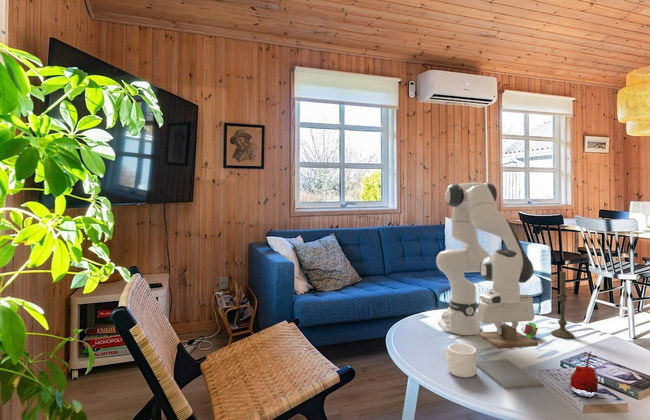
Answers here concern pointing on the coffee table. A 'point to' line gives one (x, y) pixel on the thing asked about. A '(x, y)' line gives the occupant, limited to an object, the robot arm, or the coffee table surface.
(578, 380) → the candy apple
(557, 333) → the candlestick holder
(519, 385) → the mat
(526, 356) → the coffee table surface
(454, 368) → the mug
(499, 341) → the lid
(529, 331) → the geometric puzzle
